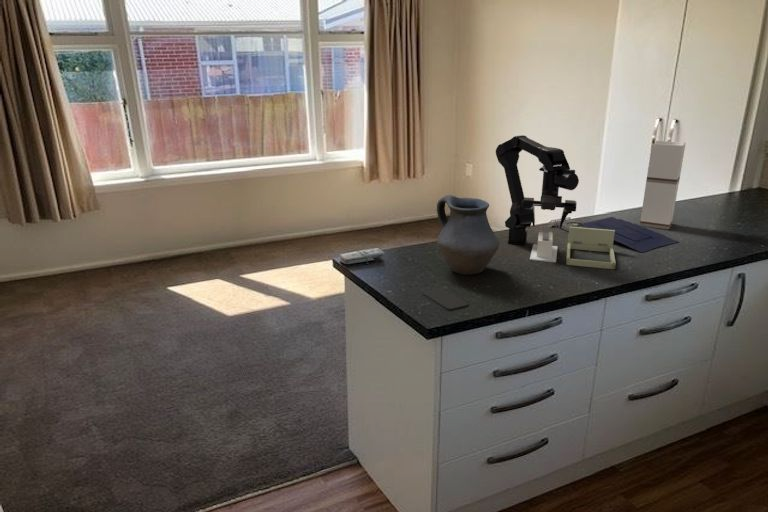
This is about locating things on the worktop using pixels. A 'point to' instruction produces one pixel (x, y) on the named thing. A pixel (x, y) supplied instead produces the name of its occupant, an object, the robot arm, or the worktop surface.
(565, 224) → the graphics card
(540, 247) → the module
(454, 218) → the pitcher
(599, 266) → the equipment case
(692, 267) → the worktop surface
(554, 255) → the mat
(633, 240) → the navy flat panel
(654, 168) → the tall banded white pillar
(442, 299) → the phone
